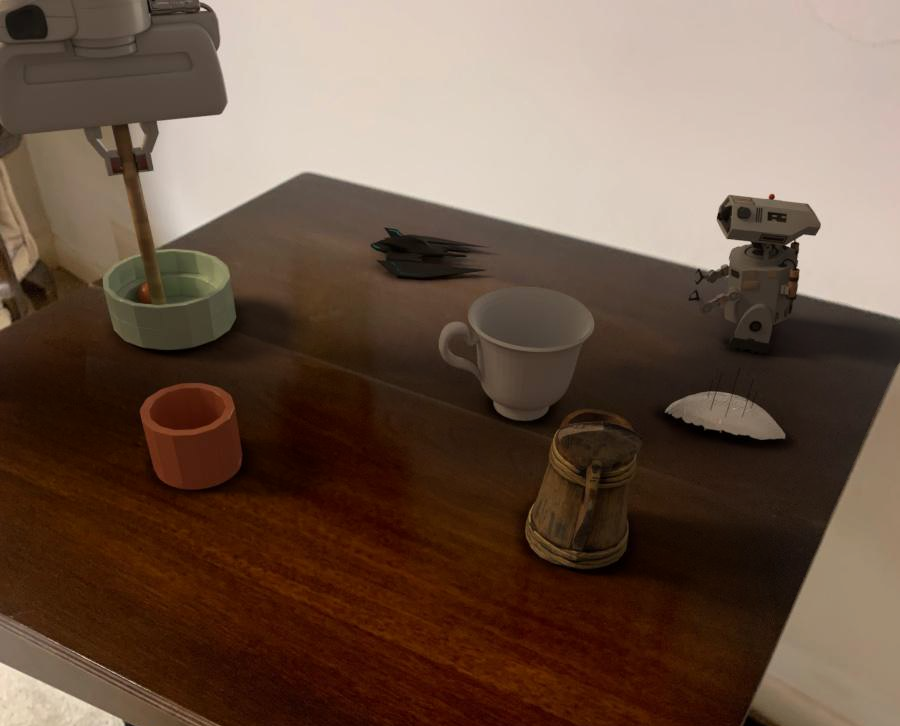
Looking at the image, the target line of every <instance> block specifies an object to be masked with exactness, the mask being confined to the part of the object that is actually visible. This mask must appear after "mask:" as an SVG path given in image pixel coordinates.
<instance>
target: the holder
mask: <svg viewBox="0 0 900 726" xmlns="http://www.w3.org/2000/svg"><path fill="white" fill-rule="evenodd" d="M139 413H140V418H141V423H142V427H143V431H144V435H145V439H146V443H147V448H148V452H149V456H150V459H151V464H152V467H153V471H154V472H155V475H156V476H157V478H158V479H159V480H160V481H162V482H163V483H164V484H166V485H167V486H170V487H173V488H177V489H179V490H193V491H194V490H195V491H197V490H204V489H209V488H213V487H217V486H220V485H221V484H224V483H226V482H227V481H229V480H231V479H232V478H233V477H234V476H235V475H237V473H238V471H239V470H240V468H241V466H242V463H243V451H242V444H241V437H240V436H241V435H240V430H239V425H238V419H237V412H236V406H235V403H234V400H233V397H232V395H231V394H230V393H229V392H227V391H226V390H224V389H223V388H221V387H220V386H216V385H211V384H207V383H202V382H188V383H187V382H185V383H183V382H182V383H178V384H174V385H170V386H167V387H164V388H161V389H159V390H158V391H156V392H154V393H153V394H151V395H150V396H148V397H146V399H145V400H144V402H143V404H142V405H141V407H140V408H139Z"/></svg>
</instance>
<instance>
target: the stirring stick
mask: <svg viewBox="0 0 900 726" xmlns="http://www.w3.org/2000/svg"><path fill="white" fill-rule="evenodd" d="M111 130H112V135H113V138H114V143H115V148H116V150H117V152H118V154H119V156H120V159H121V166H122V168H123V174H122V178H123V182H124V187H125V191H126V196H127V201H128V205H129V209H130V214H131V219H132V222H133V227H134V231H135V235H136V240H137V244H138V249H139V254H141V258H142V262H143V267H144V271H145V276H146V280H147V284H148V289H149V293H150V298H151V302H152V305H166V304H167V302H166V298H165V293H164V289H163V284H162V279H161V275H160V270H159V265H158V261H157V256H156V251H155V250H156V247H155V243H154V239H153V234H152V229H151V224H150V220H149V215H148V210H147V205H146V202H145V201H146V200H145V196H144V192H143V187H142V183H141V178H140V173H138V169H137V163H136V160H135V155H134V149H133V148H134V146H133V140H132V137H131V131H130V127H129V124H123V125H113V126H111Z"/></svg>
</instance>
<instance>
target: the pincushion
mask: <svg viewBox="0 0 900 726" xmlns="http://www.w3.org/2000/svg"><path fill="white" fill-rule="evenodd" d="M740 371H741V367H739V368H738V372H737V376H736V378H735V381H734V385H733V388H732V391H731V393H730V392H725V391H724V392H723V391H718V388H719V385H720V382H721V379H722V375H723V371H721V373H720V377H719V380H718V383H717V387H716V390H715V391H712V390H711V389H712V385H713V382H714V379H712V380H711V384H710V386H709V391H701V392H697V393H695V394H691V395H690V394H689V395H687V396H684V397H682V398H681V399H680V398H679V399H678V400H676V401H674V402H672V403H670V404H669V406H667V408H665V411H664V413H665V414H668V415H671V416H672V417H674V419H680V418H681V419H682V421H684V423H686V424H693V425H694V426H697V427H698V426H702V427H703V431H706V430H712V431H713V430H714V431H719V433H722V432H723V431H724V432H726V433H730V434H732V435H735V436H739V435H740V436H748V437H750V438H752V439H756V440H760V441H763V440H777V439H779V440H780V439H783V440H785V439H786V433H785V432H784V431H783V429H782V427H780V425H779V424H778V423H777V422H776V420H775V419H774V418H773V417H772V416H771V414H770V413H768V412H767V411H766V410H765V409H764V408H763V407H761V406H759V405H758V404H757V403H755V399H756V397H757V394H758V391H756V392H755V395H754V398H753V401H752V400H750V396H751V393H750V392H751V390H752V386H753V382H754V380H755V378H752V381H751V384H750V387H749V390H748V392H747V396H746V397H743V396H741V395H737V394H734V393H735V389H734V388H735V386H736V383H737V379H738V377H739V374H740Z"/></svg>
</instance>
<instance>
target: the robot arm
mask: <svg viewBox="0 0 900 726" xmlns="http://www.w3.org/2000/svg"><path fill="white" fill-rule="evenodd" d="M201 9H203V10H201ZM219 22H220V21H219V18H218V15H217V13H216V12H215V11H214V9H213V8H212V7H211V6H210V5H208V4H207V3H205V2H202V1H200V0H0V125H1V126H2V127H3V128H4V129H5V130H6V131H8V132H9V133H10V134H11V135H13V136H23V135H32V134H33V135H34V134H43V133H53V132H63V131H72V130H82V129H83V133H84V136H85V137H86V138H85V139H86V140H87V142H88V143H89V144H90V145H91V146H92V148H93V149H94V150H95V151H96V153H98V154H99V156H100V157H101V158H102V162H103V166H104V169H105V172H106V173H105V174H106V175H107V177H113V176H120V175H123V168H122V166H121V159H120V156H119V154H118V152H117V149H111V150H108V148H107V147H106V146H105V144H104V143H103V142H102V141H101V140H102V139H103V133H102V129H101V128H102V127H112V126H113V125H123V124H128V125H132V124H139V128H140V129H141V131H142V133H143V135H142V139H141V142H140V146H137V147H133V149H134V155H135V160H136V163H137V169H138V173H139V174H140V173H148V172H154V169H155V168H154V163H153V159H152V153H153V151H154V148H155V146H156V143H157V140H158V137H159V135H160V132H159V126H158V122H159V121H160V122H162V121H163V122H164V121H172V120H181V119H190V118H201V117H211V116H220V115H222V114H223V112H224V111H225V109H226V107H227V105H228V103H229V102H228V92H227V87H226V83H225V78H224V74H223V69H222V66H221V62H220V59H219V55H218V50H219V48H220V45H221V30H220V23H219Z"/></svg>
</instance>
